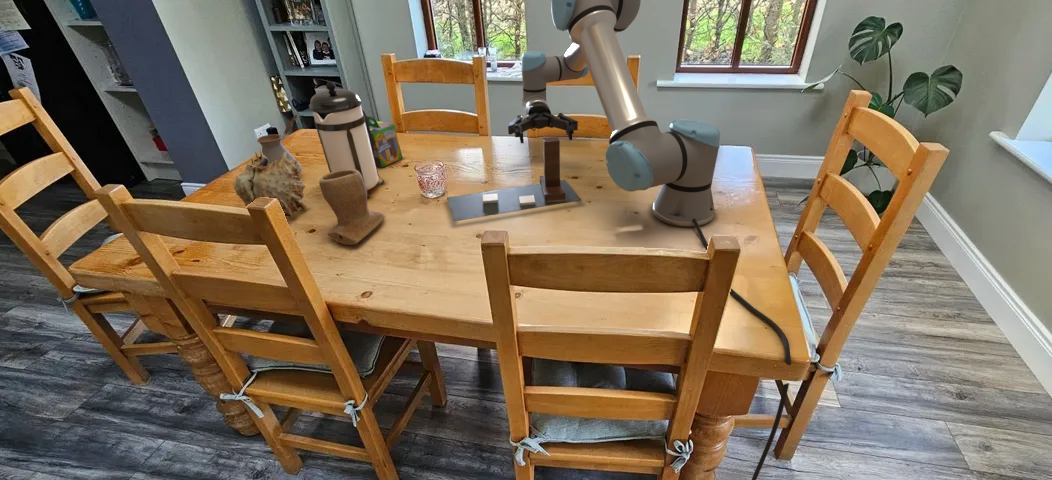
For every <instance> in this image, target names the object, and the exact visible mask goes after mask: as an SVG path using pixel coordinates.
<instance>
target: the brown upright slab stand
mask: <svg viewBox="0 0 1052 480" xmlns="http://www.w3.org/2000/svg"><path fill="white" fill-rule="evenodd" d="M560 143H561V142H560V138H559V136H551V137H549V136H548V137H542V156H543V157H542V158H543V160H542V161H543V175H539V183H540V186H541V190H542V194H543V198H544V201H545V203H554V202H565V191H564V188H563V185H562V182H561V180H562V179H561V155H560V154H561V153H560V152H561V150H560V149H561V147H560Z"/></svg>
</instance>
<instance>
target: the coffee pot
mask: <svg viewBox="0 0 1052 480" xmlns="http://www.w3.org/2000/svg"><path fill="white" fill-rule="evenodd" d="M298 118H300V119H298ZM301 120H302V117H301V116H300V115H298V114H294V116H293V117H292V118H290V122H289V123H287V125H286V128H285V129H284V132H283V133H282V135H281V134H277V133H276V134H275V133H274V134H272V133H271V134H267V135H263V136H260V137H258V138H257V139H256V141H257V143H259V144H260V146H261V150H262V153H263V156H266V157H267V158H268V160H269V164H271V163H272V162H274V161H275V160H278V159H280V157H281V156H282V154H283V153H284V152H288V153H289V157H290V159H291V160H292V161H294V160H297V159H296V158H295V157H294V155H293V154H292V153H291V152H290V151H289V150H288V149H287V148H286V147H285V146H284V144H283V142H284V140H285V138H286V137H287V136H288V134H289V132H290V131H291V129H292V128H293V126H294V123H296V121H301ZM297 163H299V164H300V165H299V167H298V170H299V174H300V175H301V173H302V170H303V167H302V164H301V163H300V162H299V161H298V160H297ZM269 164H268V165H269Z"/></svg>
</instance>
